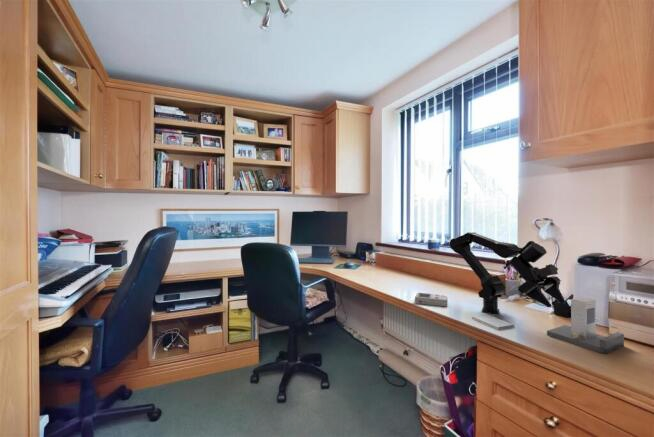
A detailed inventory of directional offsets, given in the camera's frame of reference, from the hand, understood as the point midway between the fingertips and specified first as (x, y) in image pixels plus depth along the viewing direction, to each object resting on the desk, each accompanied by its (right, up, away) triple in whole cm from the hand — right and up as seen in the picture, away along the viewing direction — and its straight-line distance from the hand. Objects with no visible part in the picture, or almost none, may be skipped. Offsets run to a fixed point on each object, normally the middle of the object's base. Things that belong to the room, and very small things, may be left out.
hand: (557, 304), depth 103 cm
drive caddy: (+3, -8, -7) cm, 11 cm away
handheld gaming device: (-32, -11, +37) cm, 51 cm away
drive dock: (+3, -10, -7) cm, 13 cm away
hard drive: (-18, -11, +10) cm, 23 cm away
